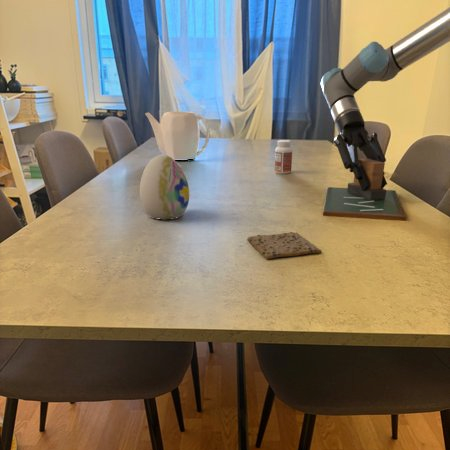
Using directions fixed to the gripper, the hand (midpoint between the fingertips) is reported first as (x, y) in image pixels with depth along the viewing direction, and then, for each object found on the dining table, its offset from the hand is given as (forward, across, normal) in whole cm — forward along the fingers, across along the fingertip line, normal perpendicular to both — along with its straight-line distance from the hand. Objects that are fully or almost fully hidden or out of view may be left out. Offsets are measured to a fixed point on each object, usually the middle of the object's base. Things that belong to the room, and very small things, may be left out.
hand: (374, 187), depth 120 cm
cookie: (+19, +40, +14) cm, 46 cm away
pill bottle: (-30, +5, -36) cm, 47 cm away
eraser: (0, 0, -5) cm, 5 cm away
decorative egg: (-2, +58, -8) cm, 58 cm away
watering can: (-60, +33, -66) cm, 95 cm away
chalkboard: (+3, +4, -2) cm, 6 cm away
